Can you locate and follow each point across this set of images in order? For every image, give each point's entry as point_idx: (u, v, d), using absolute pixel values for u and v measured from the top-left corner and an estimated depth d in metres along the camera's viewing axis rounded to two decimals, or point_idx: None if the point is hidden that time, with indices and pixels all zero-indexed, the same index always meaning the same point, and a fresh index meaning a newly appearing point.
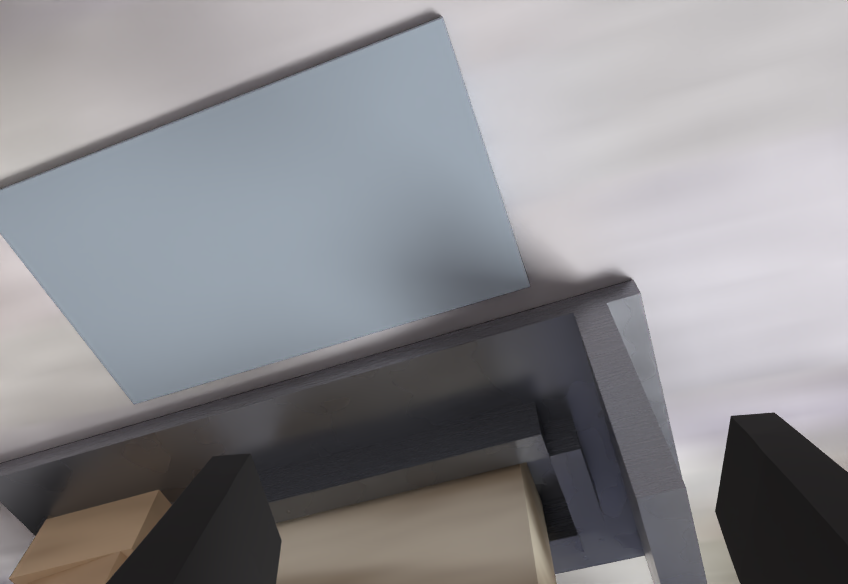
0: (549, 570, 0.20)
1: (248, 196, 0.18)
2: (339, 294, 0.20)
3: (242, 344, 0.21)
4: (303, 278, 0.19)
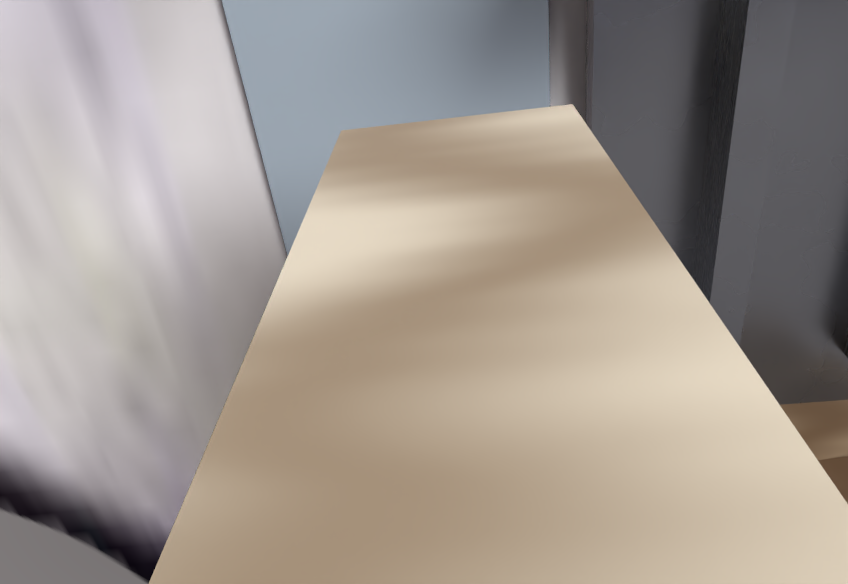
0: (531, 205, 0.07)
1: None
2: None
3: None
4: None
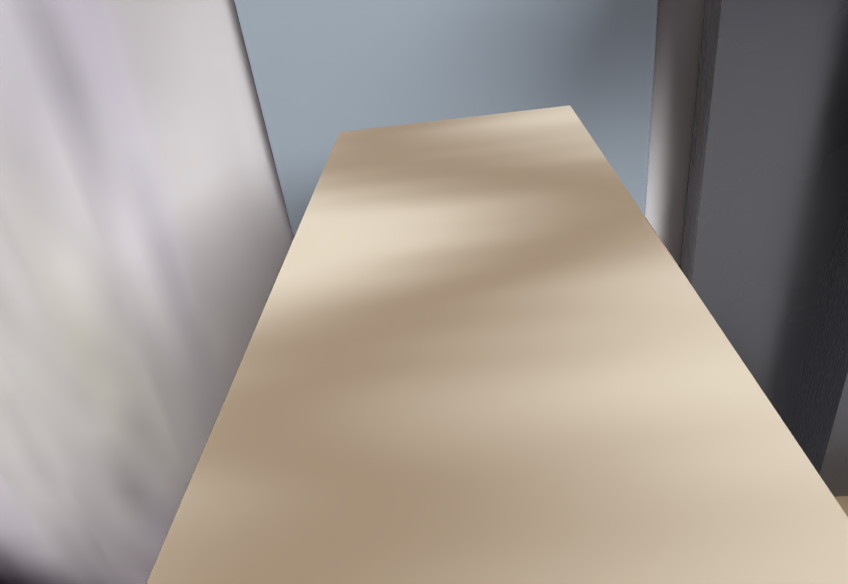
0: (528, 207, 0.07)
1: None
2: None
3: None
4: None
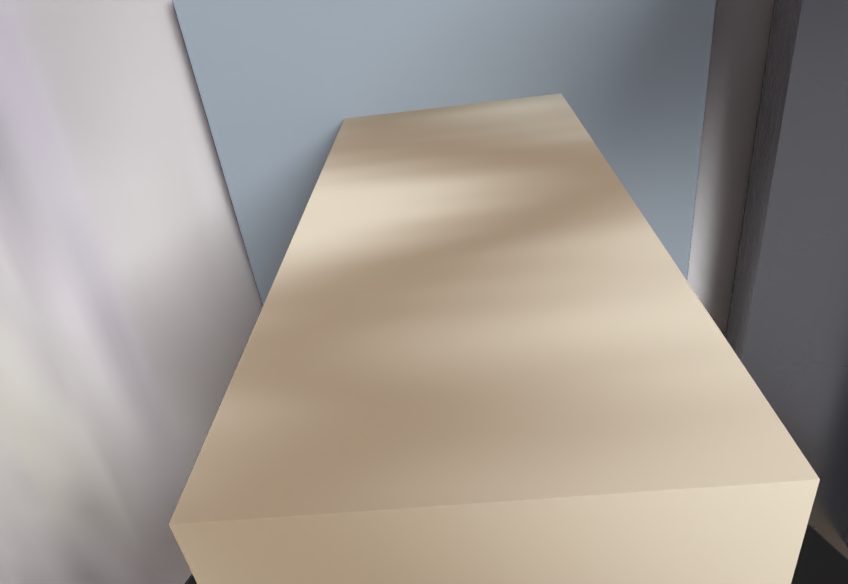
0: (518, 181, 0.07)
1: None
2: None
3: None
4: None
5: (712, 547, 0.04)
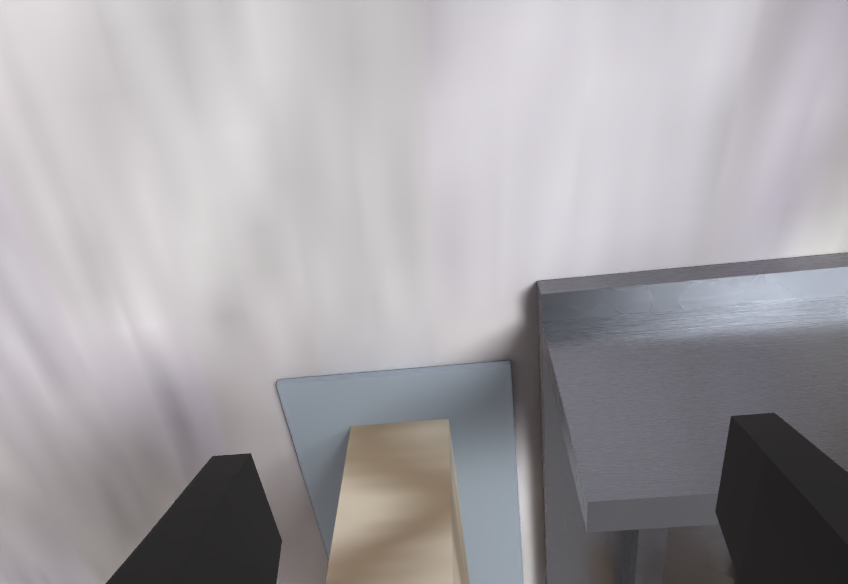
0: (416, 499, 0.20)
1: None
2: (473, 485, 0.24)
3: (496, 548, 0.26)
4: None
5: None
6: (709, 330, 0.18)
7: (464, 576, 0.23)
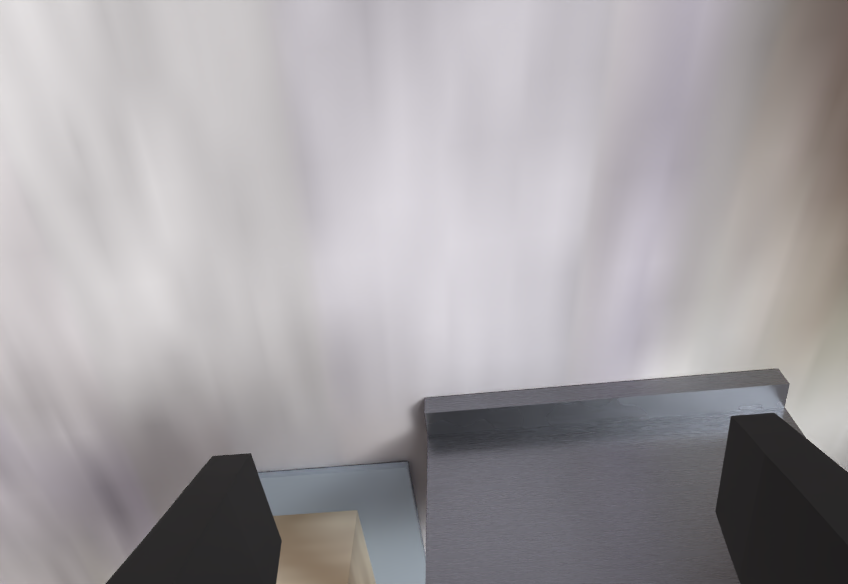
0: None
1: None
2: (385, 564, 0.27)
3: None
4: None
5: None
6: (568, 449, 0.21)
7: None
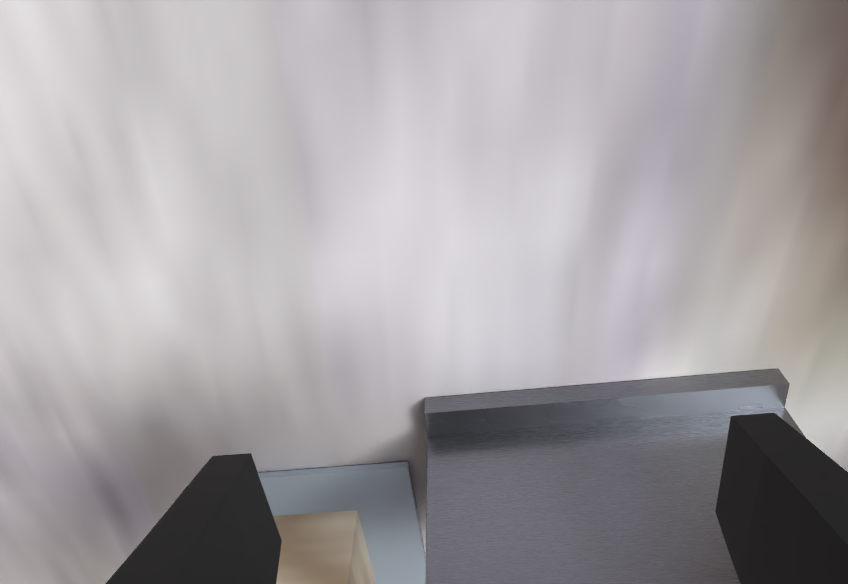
0: None
1: None
2: (385, 564, 0.27)
3: None
4: None
5: None
6: (568, 449, 0.21)
7: None
